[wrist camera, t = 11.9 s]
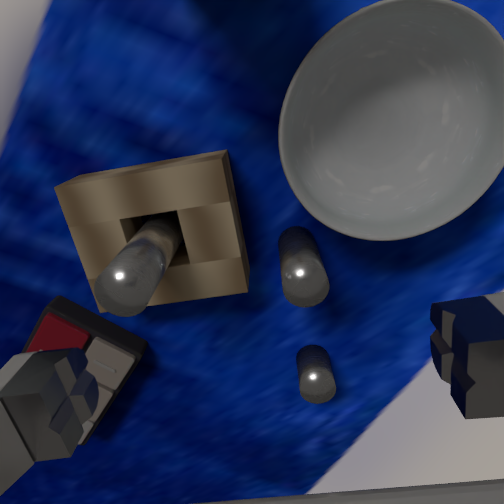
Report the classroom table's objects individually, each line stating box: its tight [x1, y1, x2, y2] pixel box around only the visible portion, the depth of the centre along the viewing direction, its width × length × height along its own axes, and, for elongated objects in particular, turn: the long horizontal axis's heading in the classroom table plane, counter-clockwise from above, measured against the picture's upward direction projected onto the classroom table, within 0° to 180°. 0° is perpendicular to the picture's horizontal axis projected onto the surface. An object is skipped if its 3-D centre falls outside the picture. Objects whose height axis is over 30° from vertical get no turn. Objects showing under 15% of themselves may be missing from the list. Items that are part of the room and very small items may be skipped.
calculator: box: [21, 296, 148, 445], centre depth 44 cm, size 11×4×15 cm
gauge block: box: [54, 150, 250, 313], centre depth 36 cm, size 14×12×5 cm
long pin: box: [94, 210, 184, 317], centre depth 32 cm, size 4×4×14 cm
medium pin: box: [278, 226, 329, 307], centre depth 35 cm, size 4×4×9 cm
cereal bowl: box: [278, 0, 504, 241], centre depth 31 cm, size 17×17×7 cm
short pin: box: [296, 345, 336, 404], centre depth 42 cm, size 4×4×5 cm
